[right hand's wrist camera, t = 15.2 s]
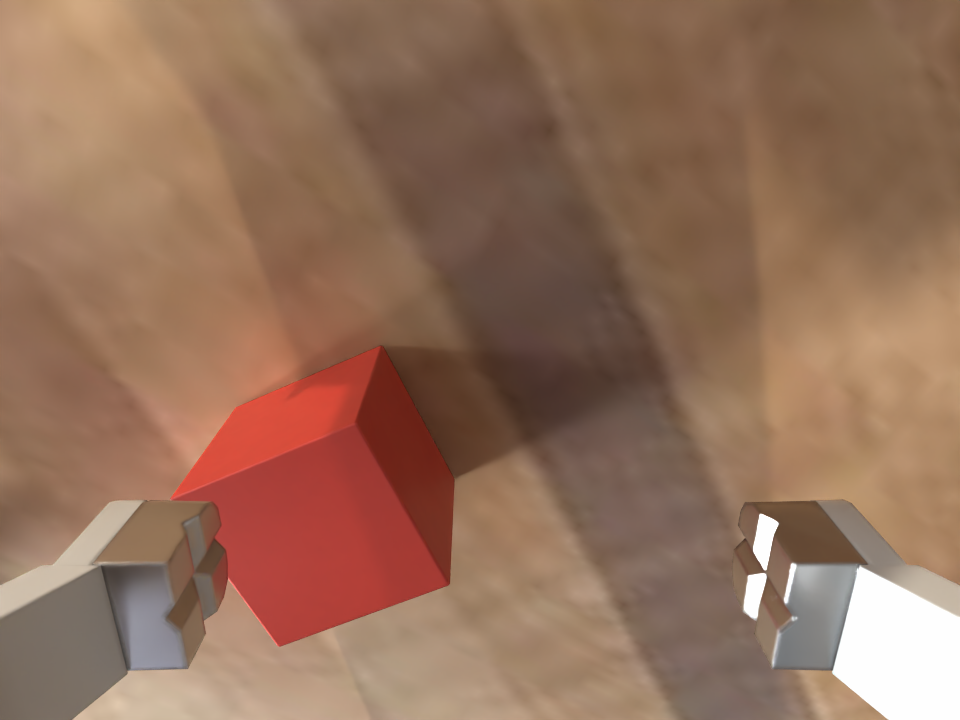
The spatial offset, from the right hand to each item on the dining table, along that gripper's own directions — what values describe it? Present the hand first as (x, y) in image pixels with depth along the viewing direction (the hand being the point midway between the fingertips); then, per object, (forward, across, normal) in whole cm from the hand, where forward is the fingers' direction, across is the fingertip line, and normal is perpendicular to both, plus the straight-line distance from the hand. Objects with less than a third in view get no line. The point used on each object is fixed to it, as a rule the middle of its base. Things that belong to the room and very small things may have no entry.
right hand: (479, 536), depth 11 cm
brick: (+10, +4, +4) cm, 11 cm away
